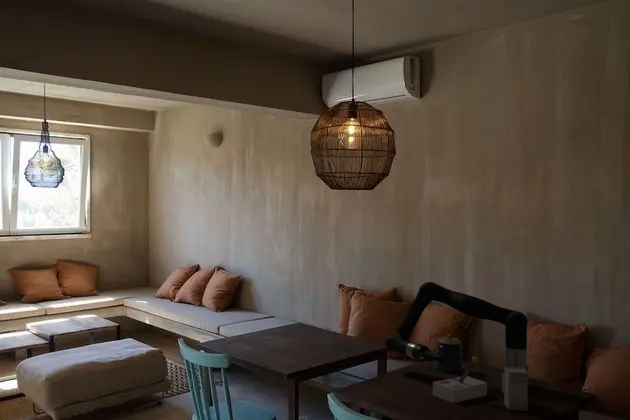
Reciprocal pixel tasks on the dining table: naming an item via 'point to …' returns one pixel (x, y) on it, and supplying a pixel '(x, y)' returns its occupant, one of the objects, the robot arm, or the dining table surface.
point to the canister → (450, 354)
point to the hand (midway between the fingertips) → (443, 360)
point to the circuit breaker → (515, 388)
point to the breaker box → (459, 389)
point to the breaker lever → (468, 369)
